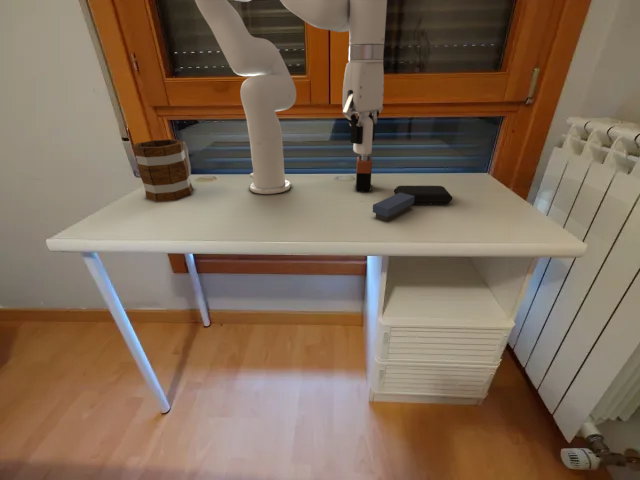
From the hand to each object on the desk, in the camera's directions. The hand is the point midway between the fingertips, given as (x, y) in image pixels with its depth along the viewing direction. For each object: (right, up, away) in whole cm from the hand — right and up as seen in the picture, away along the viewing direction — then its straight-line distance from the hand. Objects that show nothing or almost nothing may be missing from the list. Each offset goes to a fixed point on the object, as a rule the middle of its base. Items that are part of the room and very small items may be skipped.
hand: (362, 141), depth 78 cm
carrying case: (+18, -13, +12) cm, 25 cm away
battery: (+3, -8, +21) cm, 23 cm away
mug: (-55, -9, +22) cm, 60 cm away
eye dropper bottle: (0, -3, +1) cm, 3 cm away
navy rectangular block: (+8, -17, +3) cm, 20 cm away
